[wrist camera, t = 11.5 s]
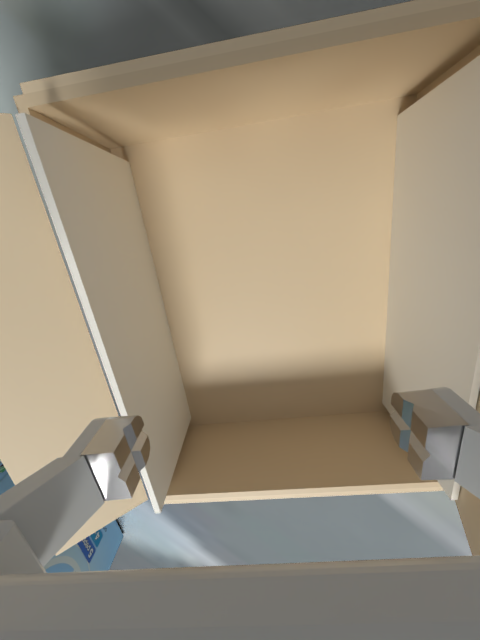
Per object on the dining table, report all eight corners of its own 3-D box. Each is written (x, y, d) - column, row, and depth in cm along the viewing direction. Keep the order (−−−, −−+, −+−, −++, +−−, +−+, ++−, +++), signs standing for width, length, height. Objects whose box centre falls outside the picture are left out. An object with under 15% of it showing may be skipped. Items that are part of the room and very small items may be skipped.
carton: (396, 414, 26) (474, 519, 17) (180, 429, 28) (144, 532, 19) (421, 79, 17) (616, -86, 8) (103, 137, 19) (-36, 60, 10)
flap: (148, 499, 20) (55, 556, 17) (146, 495, 20) (56, 550, 18) (11, 113, 12) (-207, 100, 9) (12, 117, 12) (-198, 105, 9)
